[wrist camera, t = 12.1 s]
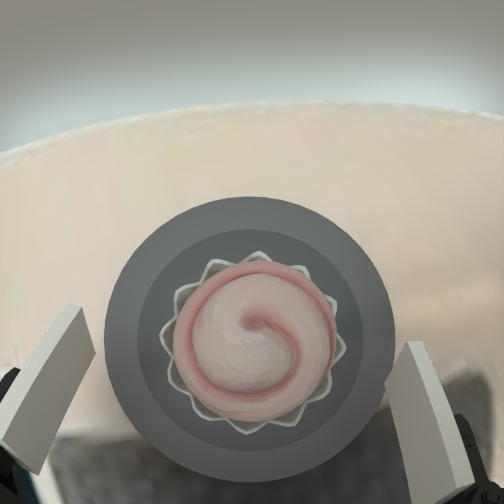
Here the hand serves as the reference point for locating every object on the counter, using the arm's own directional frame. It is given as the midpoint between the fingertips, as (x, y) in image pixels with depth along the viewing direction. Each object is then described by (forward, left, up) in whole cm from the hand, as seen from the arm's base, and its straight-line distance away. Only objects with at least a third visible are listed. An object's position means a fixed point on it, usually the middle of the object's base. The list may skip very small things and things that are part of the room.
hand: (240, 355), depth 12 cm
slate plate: (0, -1, -9) cm, 10 cm away
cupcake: (0, -1, -8) cm, 8 cm away
